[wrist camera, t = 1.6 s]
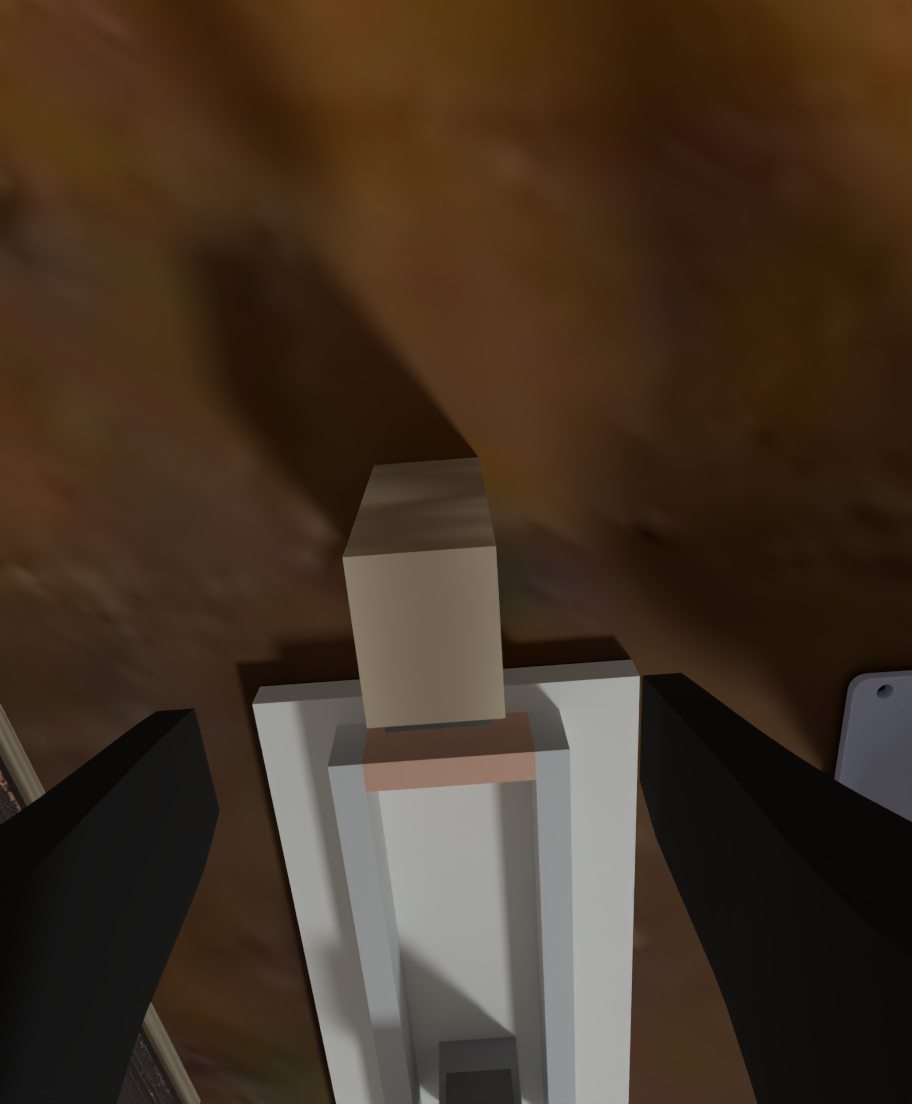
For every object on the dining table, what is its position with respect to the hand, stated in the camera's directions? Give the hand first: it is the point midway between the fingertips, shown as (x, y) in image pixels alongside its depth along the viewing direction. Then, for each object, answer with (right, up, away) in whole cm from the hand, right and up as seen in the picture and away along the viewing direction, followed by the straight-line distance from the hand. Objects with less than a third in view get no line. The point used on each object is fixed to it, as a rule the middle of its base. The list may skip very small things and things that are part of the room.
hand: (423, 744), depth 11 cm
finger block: (0, +4, +10) cm, 10 cm away
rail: (+1, -11, +16) cm, 19 cm away
